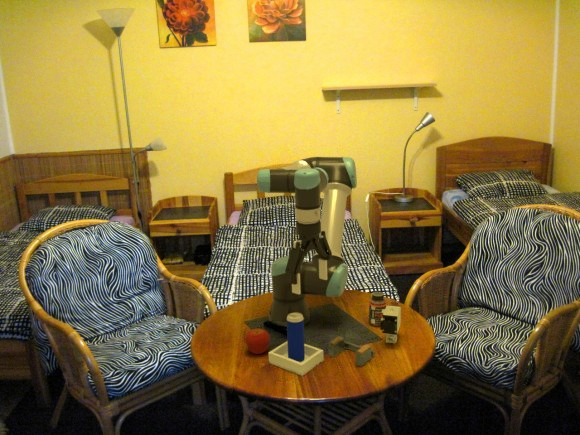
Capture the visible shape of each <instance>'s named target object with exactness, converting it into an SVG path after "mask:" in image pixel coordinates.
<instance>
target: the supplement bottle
mask: <svg viewBox="0 0 580 435" xmlns="http://www.w3.org/2000/svg"><path fill="white" fill-rule="evenodd" d="M368 302H369V303H368V323H369V325H371V326H373V327H380V324H381V319H382V316H383V313H382V310H383V309H386V306H387V300H386V299H385V298H384V293H383V292H381V291H373V292H372V294H371V298H370V299H369V300H368Z"/></svg>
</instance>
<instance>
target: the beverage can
mask: <svg viewBox="0 0 580 435" xmlns="http://www.w3.org/2000/svg"><path fill="white" fill-rule="evenodd" d="M286 335H287V336H286V337H287V340H286V341H288V358H290V359H292V360H295V361H298V362H300V363H301V362H303V361H304V359H305V351H304V344H305V324H304V318H303V315H302V314H301V313H290V314H289V315H288V316H287V328H286Z"/></svg>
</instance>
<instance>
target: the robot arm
mask: <svg viewBox="0 0 580 435" xmlns="http://www.w3.org/2000/svg"><path fill="white" fill-rule="evenodd" d="M356 167H357V166H356V162H355V160H354V159H353V158H352V157H344V156H340V157H339V156H336V157H335V156H311V157H306V158H302V159H298V160H296V161H293V162H292V163H291V164H289V165H287V166H283V167H278V168H271V169H270V168H267V169H266V168H265V169H260V170H258V173H257V176H256V187H257V189H258V191H259V192H260V193H267V194H294V201H295V202H294V204H295V205H294V206H295V208H294V209H295V210H294V211H295V213H294V214H295V220H296V222H295V232H296V234H297V235H298V240H291V244H290V251H289V255H286V256H283V257H279V258H276V260H274V261H273V262H272V264H271V288H272V290H271V291H272V301H271V304H270V308H269V311H268V321H269V320H276V321H282V322H286V323H287V316H288V315H289V314H290V313H301V314H302V315H303V318H304V325H306V324H308V323H309V322H310V320H311V312H310V309H309V308H308V304H307V301H306V297H305V295H306V296H307V295H308V296H310V295H311V296H321V297H327V298H329V297H340V296H342V295H343V293H344V292H345V289H346V285H347V281H348V273H349V266H348V264H346V263H345V259H344V257H343V256H342V247H343V245H342V244H343V234H344V228H345V227H344V226H345V217H346V209H347V201H348V200H347V198H348V197H349V196H350V195H351V194H352V191H353V190H352V189H356V188H357V185H358V182H357V180H358V179H357V178H358V177H357V169H356ZM321 193H323V199H322V201H323V202H322V207H321ZM321 208H322V209H321ZM312 250H314V251H315V253H314V254H313V255H312V256H311V261H305V257H306V255H308V253H309V252H311V251H312ZM307 322H308V323H307Z"/></svg>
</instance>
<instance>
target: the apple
mask: <svg viewBox="0 0 580 435" xmlns="http://www.w3.org/2000/svg"><path fill="white" fill-rule="evenodd" d="M245 343H246V347H247V349H248V350H249V351H250V352H251V353H252V354H255V355H261V354H263V353H265V352H267V350H268V348H269V346H270V343H271V336H270V334H269V332H268V331H266V330H265V329H263V328H253V329H250V330H249V331H247V333H246V336H245Z"/></svg>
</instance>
